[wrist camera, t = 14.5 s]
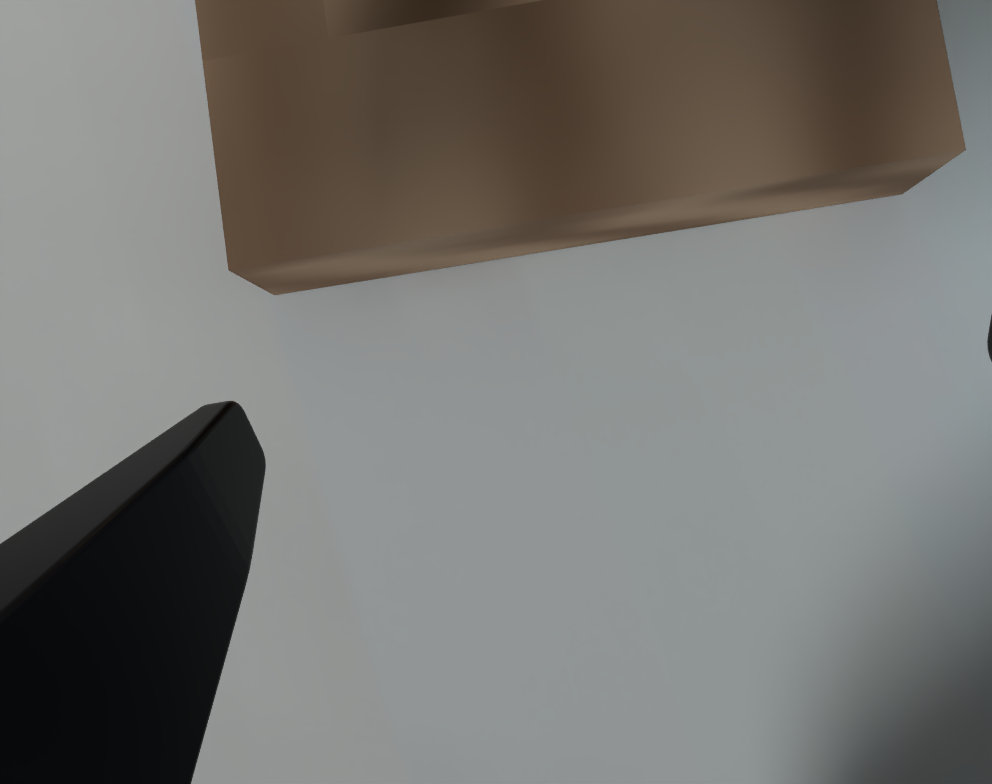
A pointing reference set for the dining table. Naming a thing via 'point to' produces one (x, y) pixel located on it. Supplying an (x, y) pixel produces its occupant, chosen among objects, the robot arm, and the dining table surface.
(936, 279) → the dining table surface
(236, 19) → the keyhole board
